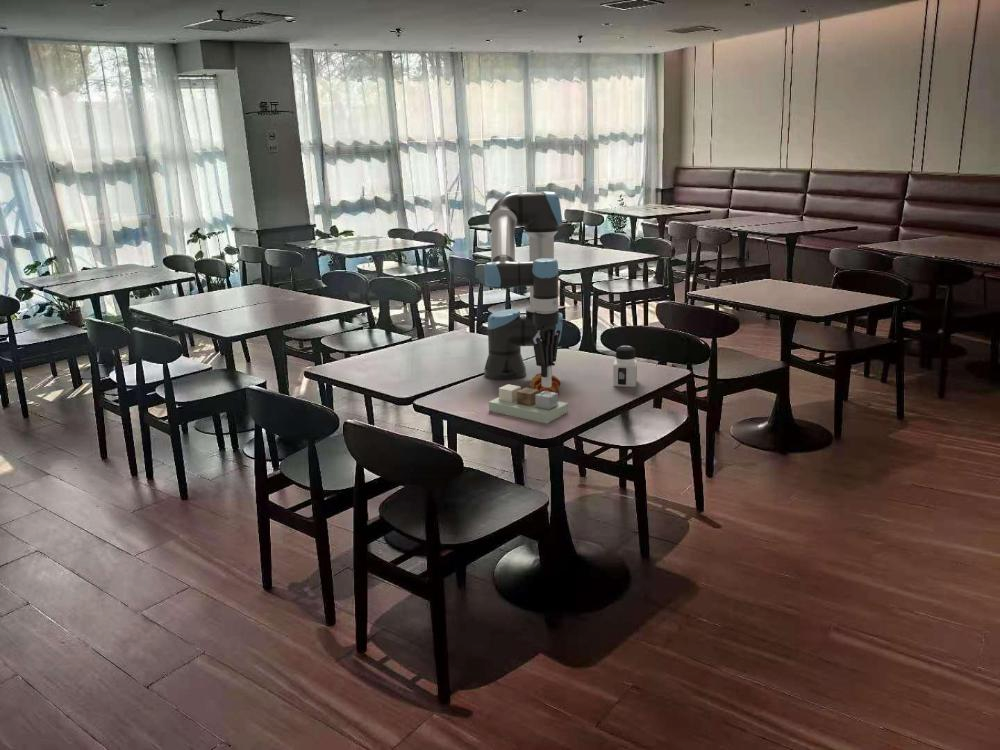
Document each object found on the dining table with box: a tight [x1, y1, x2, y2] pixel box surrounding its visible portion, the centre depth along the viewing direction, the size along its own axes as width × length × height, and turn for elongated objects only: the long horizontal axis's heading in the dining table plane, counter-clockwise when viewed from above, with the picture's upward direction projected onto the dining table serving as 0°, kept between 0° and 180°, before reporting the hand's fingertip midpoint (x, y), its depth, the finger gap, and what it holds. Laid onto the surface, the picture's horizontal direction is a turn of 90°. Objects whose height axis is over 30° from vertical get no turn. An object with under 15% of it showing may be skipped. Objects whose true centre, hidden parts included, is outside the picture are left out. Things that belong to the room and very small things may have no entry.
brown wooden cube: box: [517, 387, 539, 407], centre depth 254 cm, size 5×5×5 cm
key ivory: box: [498, 383, 522, 403], centre depth 258 cm, size 5×5×5 cm
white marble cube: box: [535, 391, 559, 411], centre depth 250 cm, size 5×5×5 cm
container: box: [612, 345, 638, 388], centre depth 279 cm, size 8×8×13 cm
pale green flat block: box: [488, 396, 569, 424], centre depth 255 cm, size 22×12×3 cm, turn 54°
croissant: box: [529, 372, 562, 393], centre depth 275 cm, size 21×10×8 cm, turn 2°
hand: (546, 386), depth 249 cm, fingers closed
